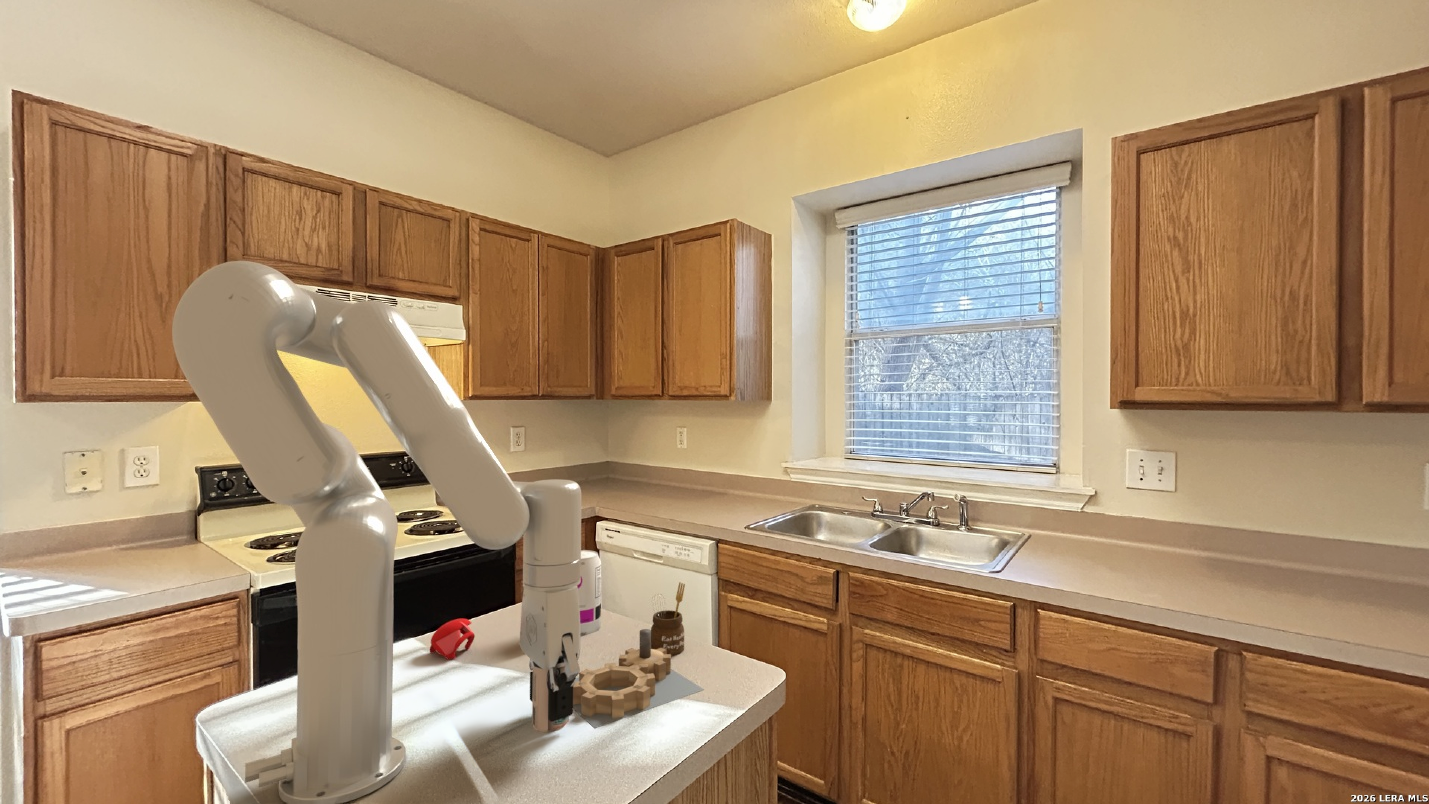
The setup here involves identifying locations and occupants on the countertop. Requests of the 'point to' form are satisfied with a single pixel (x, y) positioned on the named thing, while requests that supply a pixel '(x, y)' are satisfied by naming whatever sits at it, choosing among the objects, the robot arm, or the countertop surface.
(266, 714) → the countertop surface
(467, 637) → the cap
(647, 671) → the small gear
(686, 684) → the gear board
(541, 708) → the beer can
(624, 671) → the oak gear
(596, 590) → the supplement can
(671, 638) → the utensil holder
